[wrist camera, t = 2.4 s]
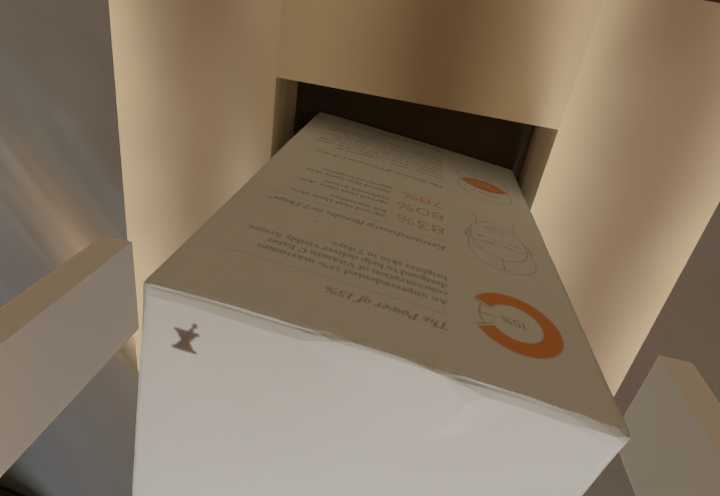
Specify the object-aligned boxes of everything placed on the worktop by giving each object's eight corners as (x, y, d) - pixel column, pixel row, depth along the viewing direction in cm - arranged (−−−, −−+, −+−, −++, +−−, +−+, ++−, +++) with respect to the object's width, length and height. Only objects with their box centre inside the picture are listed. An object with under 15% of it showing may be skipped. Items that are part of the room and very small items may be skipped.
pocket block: (169, 332, 25) (137, 371, 22) (154, -86, 17) (100, -102, 14) (559, 417, 24) (574, 469, 21) (752, 16, 16) (818, 19, 13)
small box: (286, 246, 22) (118, 519, 10) (318, 107, 19) (130, 273, 7) (459, 299, 22) (485, 634, 10) (518, 169, 19) (647, 433, 7)
